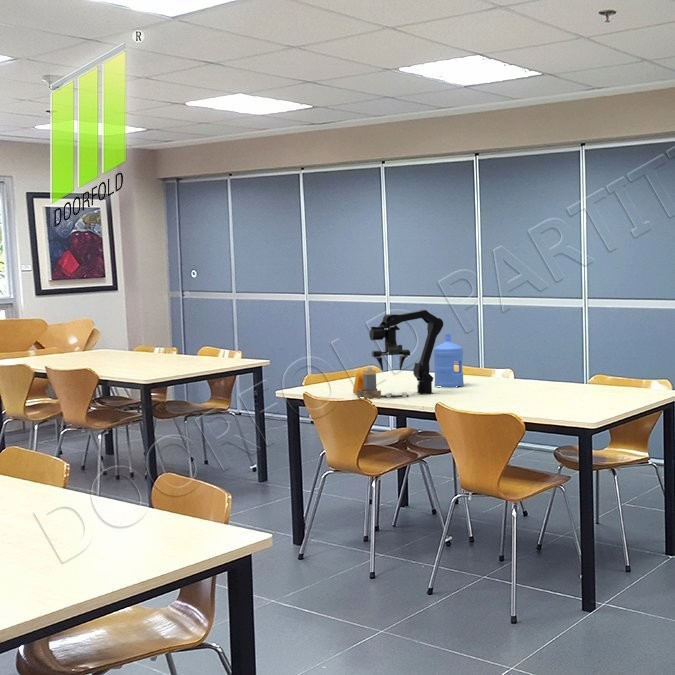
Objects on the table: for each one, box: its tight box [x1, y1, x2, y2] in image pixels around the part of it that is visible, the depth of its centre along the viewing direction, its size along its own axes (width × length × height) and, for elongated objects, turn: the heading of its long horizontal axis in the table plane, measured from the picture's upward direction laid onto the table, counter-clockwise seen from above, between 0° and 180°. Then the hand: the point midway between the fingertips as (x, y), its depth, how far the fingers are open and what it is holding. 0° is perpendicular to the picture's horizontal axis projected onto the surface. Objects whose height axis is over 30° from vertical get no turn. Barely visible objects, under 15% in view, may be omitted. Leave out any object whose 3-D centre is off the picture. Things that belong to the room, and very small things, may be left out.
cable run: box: [381, 394, 410, 398], centre depth 459 cm, size 15×2×1 cm, turn 83°
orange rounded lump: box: [352, 370, 364, 395], centre depth 475 cm, size 11×7×12 cm, turn 141°
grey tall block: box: [362, 366, 377, 391], centre depth 460 cm, size 5×5×14 cm
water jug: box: [433, 333, 465, 388], centre depth 496 cm, size 16×16×28 cm
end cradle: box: [356, 387, 382, 400], centre depth 460 cm, size 10×10×4 cm
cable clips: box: [385, 392, 408, 398], centre depth 459 cm, size 10×4×2 cm, turn 86°
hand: (391, 370), depth 462 cm, fingers open, 9 cm apart
